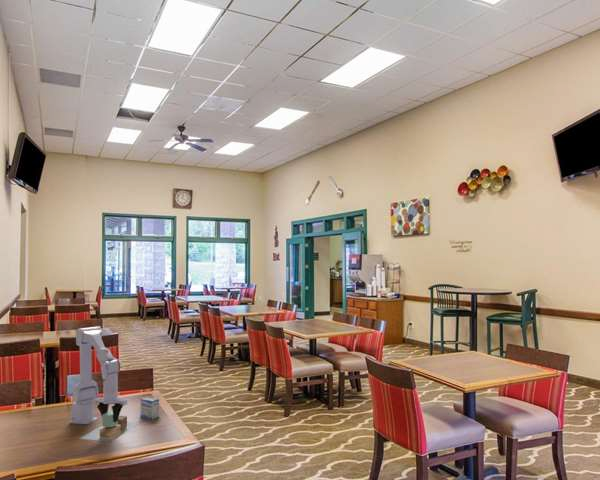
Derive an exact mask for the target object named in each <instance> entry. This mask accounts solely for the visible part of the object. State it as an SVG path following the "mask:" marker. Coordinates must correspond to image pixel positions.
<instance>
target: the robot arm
mask: <svg viewBox="0 0 600 480" xmlns="http://www.w3.org/2000/svg"><path fill="white" fill-rule="evenodd" d="M102 338H103V329H102V328H101V326H100V325H97V326H89V327H83V328H82V327H79V328H78V329H77V330H76V332H75V343H76V346H79V381H78V382H77V383H76V384H75V385H74V386H73V390H72V391H73V392H72V399H73V403H72V404H71V407H70V421H69V423H70V424H82V425H85V424H86V425H89V424H90V423H92V422H94V421H96V420H98V419H99V417H96V416H95V405H96V404H97V406H96V407H97V409H98V411H99V412H100V415H101V417H102V415H103V414H104V413H106V412H108V411H109V405H112V406H111V411H113V420H114V422H116V421H118V417H119V416H120V413H121V410H122V408H123V406H126V405H128V399H127V398H121V397H119V396H118V394H119V392H118V391H119V386H118V385H119V373H120V372H121V362H120V360H119V359H118V358H116V357H114V356H113V353H112V352H111V350H110V349H109V348H108V347H106V346H105V344H104V341H103V339H102ZM92 347H93V348H94V350H95V351H96V355H95V356H96V358H97V360H98V362H99V364H100V372H101V378H102V379H103V380H102V381H103V390H102V392H103V393H102V396H103V397H99V388H98V383H97V381H94V380H93V379H92V378H93V377H92V376H93V375H92V371H93V370H92Z"/></svg>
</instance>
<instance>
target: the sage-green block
mask: <svg viewBox="0 0 600 480" xmlns="http://www.w3.org/2000/svg"><path fill="white" fill-rule="evenodd" d="M101 419H102V421H101V422H102V425H101V426H102V427H113V426H115V425H116V424H118V421H116V422H114V420H113V410H108V412H106V413H104V414H103V415H102V416H101Z"/></svg>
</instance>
